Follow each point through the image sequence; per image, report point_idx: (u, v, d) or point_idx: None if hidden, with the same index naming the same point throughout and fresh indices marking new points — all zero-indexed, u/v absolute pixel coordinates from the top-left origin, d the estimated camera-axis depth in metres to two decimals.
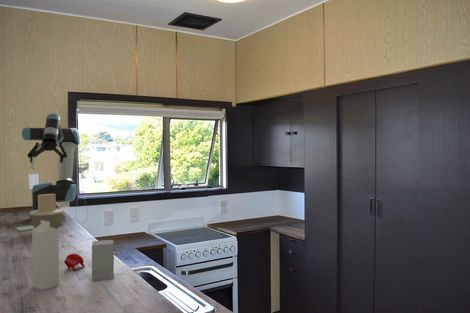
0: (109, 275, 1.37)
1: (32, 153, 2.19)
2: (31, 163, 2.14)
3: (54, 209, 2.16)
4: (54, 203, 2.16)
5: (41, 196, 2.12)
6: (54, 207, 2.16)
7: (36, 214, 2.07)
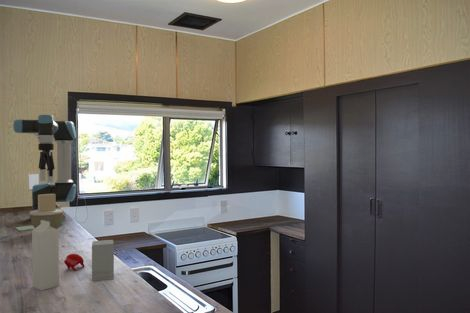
0: (109, 275, 1.37)
1: None
2: None
3: (54, 209, 2.16)
4: (54, 203, 2.16)
5: (41, 196, 2.12)
6: (54, 207, 2.16)
7: (36, 214, 2.07)
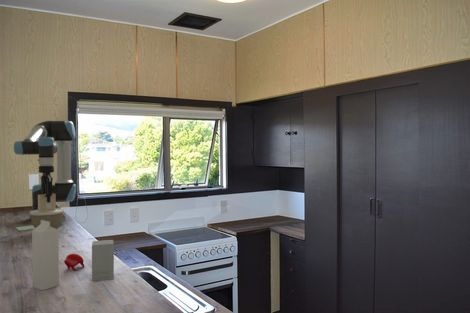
0: (109, 275, 1.37)
1: None
2: None
3: (54, 209, 2.16)
4: (54, 203, 2.16)
5: (41, 196, 2.12)
6: (54, 207, 2.16)
7: (36, 214, 2.07)
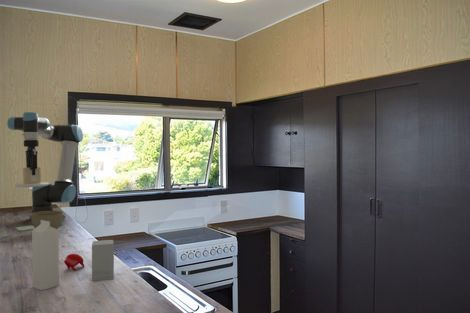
0: (109, 275, 1.37)
1: None
2: None
3: (39, 182, 2.24)
4: (39, 176, 2.24)
5: (26, 169, 2.19)
6: (39, 180, 2.24)
7: (21, 186, 2.15)
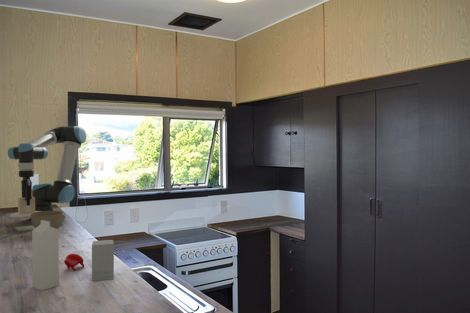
0: (109, 275, 1.37)
1: None
2: None
3: (34, 211, 2.27)
4: (34, 206, 2.27)
5: (21, 199, 2.22)
6: (34, 210, 2.27)
7: (16, 216, 2.18)
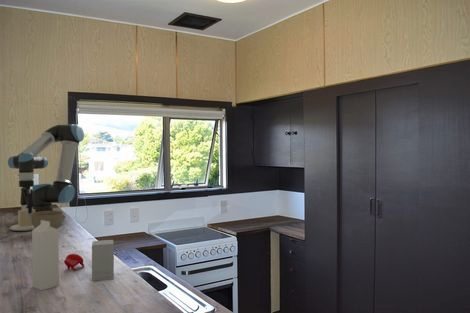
0: (109, 275, 1.37)
1: None
2: None
3: None
4: None
5: (21, 212, 2.22)
6: None
7: (16, 229, 2.18)
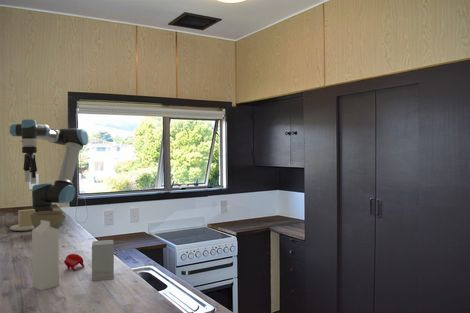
0: (109, 275, 1.37)
1: None
2: None
3: None
4: None
5: (21, 212, 2.22)
6: None
7: (16, 229, 2.18)
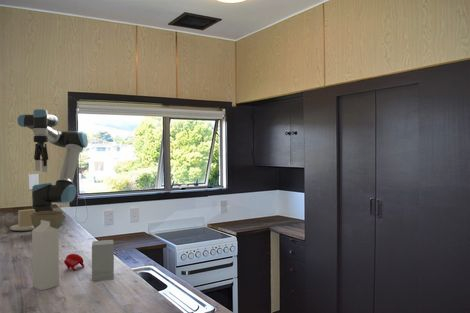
0: (109, 275, 1.37)
1: None
2: (35, 167, 2.37)
3: None
4: None
5: (21, 212, 2.22)
6: None
7: (16, 229, 2.18)
